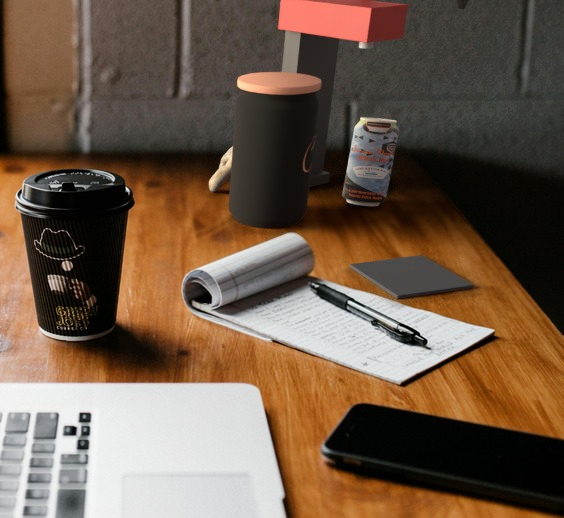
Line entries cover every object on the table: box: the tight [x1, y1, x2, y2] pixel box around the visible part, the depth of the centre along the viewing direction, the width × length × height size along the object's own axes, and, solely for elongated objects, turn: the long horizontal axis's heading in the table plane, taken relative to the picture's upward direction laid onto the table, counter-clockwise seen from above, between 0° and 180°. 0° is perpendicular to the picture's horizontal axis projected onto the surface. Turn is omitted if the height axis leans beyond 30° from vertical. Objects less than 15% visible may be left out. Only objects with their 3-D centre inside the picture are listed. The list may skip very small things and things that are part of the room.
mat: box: [348, 254, 475, 300], centre depth 100 cm, size 10×10×1 cm
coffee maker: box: [277, 0, 409, 188], centre depth 122 cm, size 10×18×26 cm, turn 35°
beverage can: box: [341, 116, 400, 207], centre depth 121 cm, size 6×7×12 cm
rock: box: [208, 145, 233, 193], centre depth 134 cm, size 20×5×7 cm, turn 166°
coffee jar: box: [228, 71, 322, 229], centre depth 114 cm, size 11×11×18 cm
